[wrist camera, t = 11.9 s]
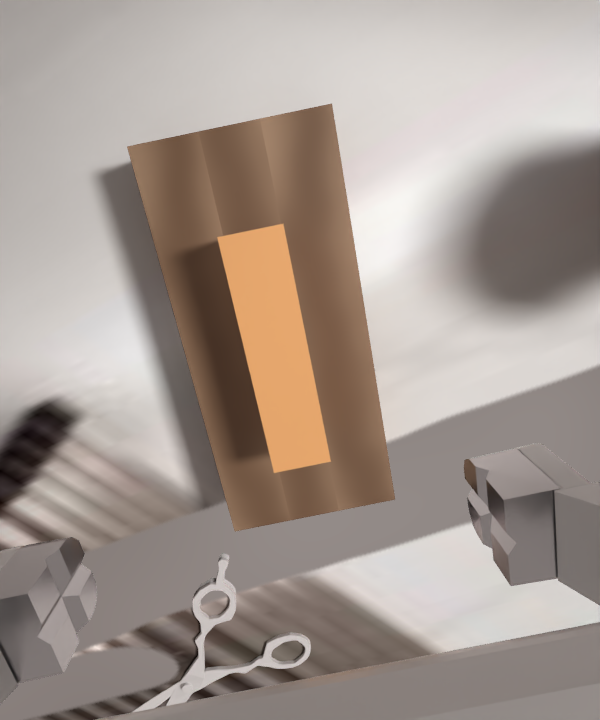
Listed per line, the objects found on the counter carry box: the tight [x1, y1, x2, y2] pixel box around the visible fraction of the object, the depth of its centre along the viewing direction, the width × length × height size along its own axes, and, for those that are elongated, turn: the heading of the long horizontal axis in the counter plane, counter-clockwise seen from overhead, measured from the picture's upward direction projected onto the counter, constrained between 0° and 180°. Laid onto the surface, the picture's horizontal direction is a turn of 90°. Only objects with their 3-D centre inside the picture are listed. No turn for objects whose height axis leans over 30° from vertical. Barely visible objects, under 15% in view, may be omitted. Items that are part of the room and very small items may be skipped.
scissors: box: [131, 553, 311, 713], centre depth 35 cm, size 11×1×20 cm
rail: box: [127, 104, 395, 531], centre depth 26 cm, size 10×22×3 cm, turn 11°
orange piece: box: [217, 224, 331, 473], centre depth 25 cm, size 3×12×6 cm, turn 11°
